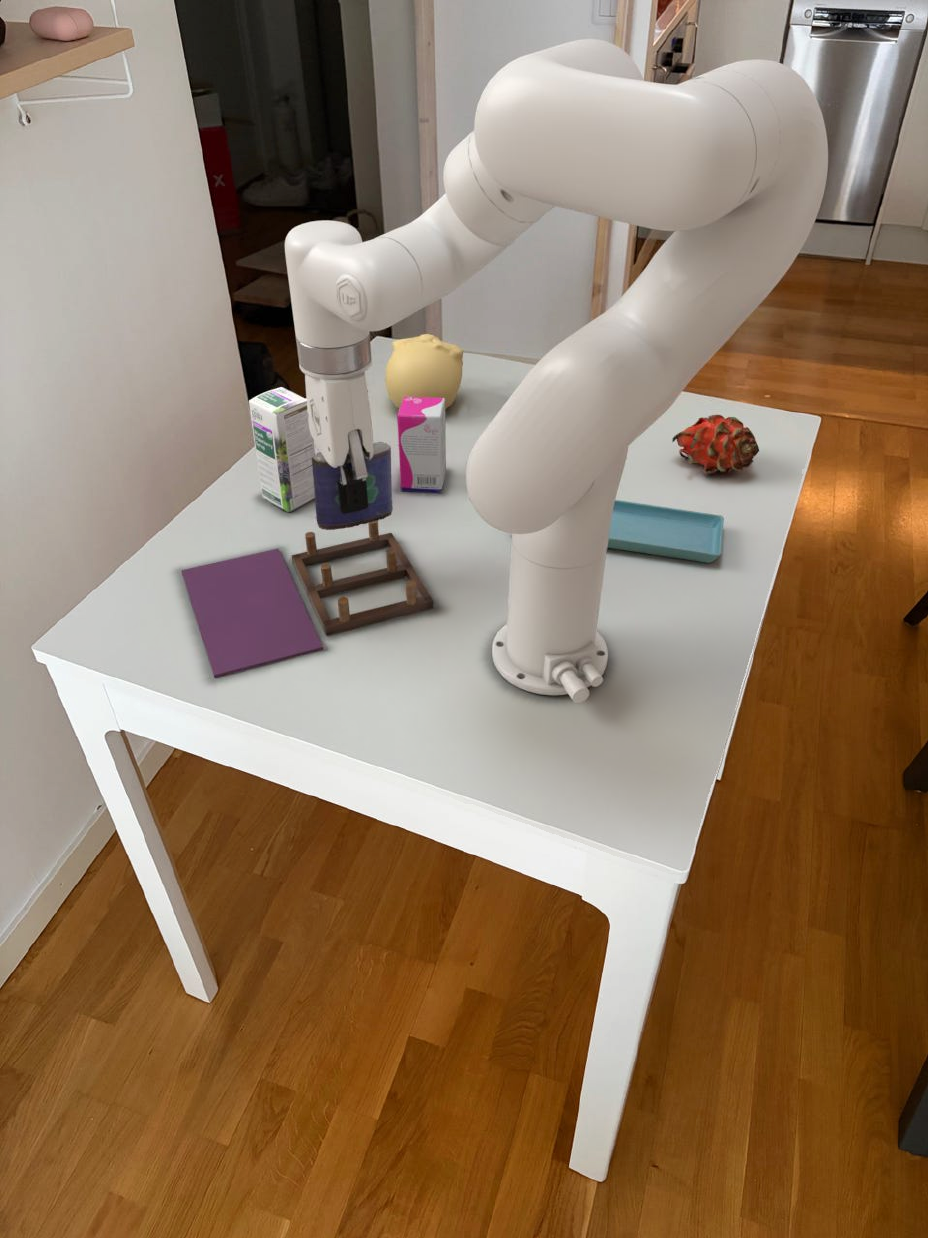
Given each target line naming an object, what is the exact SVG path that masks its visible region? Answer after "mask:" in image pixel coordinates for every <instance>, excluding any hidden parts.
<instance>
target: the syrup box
mask: <svg viewBox="0 0 928 1238" xmlns="http://www.w3.org/2000/svg"><path fill="white" fill-rule="evenodd" d="M248 406H249V414H250V420H251V421H250V422H251V427H252V434H253V440H254V448H255V455H256V461H257V468H258V477H259V483H260V491H261V497H262V499H264V500H267V501H268V502H270V503H271V504H273V505H275V506H276V507H279V508H280V509H282V510H283V511H285V512H287V513H290V512H292V511H294V510H296V509H298V508H299V507H301V506H304V505H306V504H307V503H309V502H311V501H312V500H315V491H314V479H313V467H312V460H311V459H312V457H313V456H314V455H315V454H316V448H315V441H314V440H313V438H312V436H311V433H310V430H309V423H308V411H307V398H304V397H302V396H301V395H299V394H297V393H295V392H294V391H291V390H289V389H287V388H285V387H283V386H280V387H277V388H273V389H270V390H267V391H265V392H262V393H260V394H258V395H256V396H254V397H252V398H251V399H249V400H248Z"/></svg>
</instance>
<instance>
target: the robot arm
mask: <svg viewBox="0 0 928 1238" xmlns="http://www.w3.org/2000/svg"><path fill="white" fill-rule="evenodd" d="M473 125H474V126H473V127H474V128H473V130H472V131H471V132H469V134H468V135H467V136H466V137H465V138H463V140H461V141H460V142H459V143H458V144H457V145H455V146H454V147H453V149H452V150H451V151H450V152H449V154H448V156H447V157H446V160H445V162H444V165H443V169H442V182H443V188H444V192H445V193H444V194H443V195H442V196H441V197H440V198H439V199H438V200H437V201H436V202H434V204H432V205H431V206H430V207H429V208H428V209H426V210H425V211H424V212H423V213H422V214H420V216H418V217H417V218H415V219H414V220H412V221H411V222H409V223H406V224H404V225H402V226H399V227H398V228H394V229H392V230H390V231H388V232H386V233H383V234H381V235H378V236H377V237H374V238H373V239H370V240H366V241H363V239H362V236H361V234H360V232H359V231H358V230H357V228H356V227H354V226H353V225H351V224H349V223H347V222H342V221H338V220H329V219H327V220H324V219H322V220H314V221H308V222H305V223H301V224H299V225H297V226H294V227H293V228H291V230H290V231H288V233H287V235H286V237H285V240H284V255H285V263H286V270H287V278H288V286H289V294H290V302H291V310H292V318H293V325H294V332H295V333H294V334H295V341H296V350H297V357H298V365H299V370H300V371H301V372H302V373H303V374H304V382H305V383H304V384H305V397H306V398H307V411H308V423H309V430H310V433H311V436H312V438H313V440H314V444H315V445H316V446H317V448H318V450H319V452H321V453H322V455H323V456H324V458H325V460H326V461H327V463H328V464H329V465H330V466H332V467H334V468H337V467H338V470H339V478H340V481H339V482H337V485H338V494H339V504H340V510H341V512H342V513H343V514H346V513H351V512H355V511H359V510H364V509H367V508H368V496H367V484H366V478H367V477H368V475H367V469H366V465H365V460H364V456H365V458H366V459H367V460H368V461H369V460H371V459H372V457H373V452H374V447H373V443H374V433H373V423H372V415H371V414H372V413H371V405H370V398H369V397H370V396H369V390H368V384H367V378H366V372H367V371H368V370H369V369H370V368H371V366H372V365H373V360H372V359H373V358H372V345H371V332H380V331H383V330H386V329H387V328H390V327H391V326H393V325H396V324H397V323H399V322H401V321H403V320H404V319H406V318H408V317H410V316H411V315H413V314H415V313H417V312H418V311H420V310H422V309H424V308H426V307H428V306H430V305H432V304H433V303H436V302H438V301H439V300H442V299H443V298H445V297H446V296H448V295H450V294H452V292H454V291H455V290H456V289H458V288H459V287H460V286H462V285H463V284H465V283H466V282H467V281H468V280H469V279H471V278H472V277H473V276H474V275H476V274H477V273H478V272H479V271H481V270H482V269H484V267H486V266H487V265H489V264H490V263H491V262H492V261H494V260H495V259H496V258H497V257H498V256H500V254H501V253H503V252H504V251H505V250H506V249H507V248H508V247H510V246H511V245H512V244H513V243H514V242H515V240H516V239H517V238H518V237H520V236H521V235H522V234H524V233H525V232H526V231H527V230H528V229H529V228H531V227H532V226H533V225H535V223H537V222H538V221H540V220H541V219H542V218H543V217H544V216H545V215H546V214H547V213H549V212H550V211H552V210H553V209H554V208H555V207H557V208H562V209H565V210H569V211H574V212H578V213H581V214H582V213H583V214H585V215H591V216H594V217H599V218H603V219H607V220H611V221H614V222H615V221H616V222H620V223H624V224H629V225H632V226H637V227H641V228H646V229H651V230H655V231H665V232H672V234H671V235H670V236H669V237H668V238H667V239H666V240H665V241H664V243H663V244H662V245H661V246H660V248H658V250H657V251H656V252H655V253H654V255H653V256H652V258H651V259H650V261H649V263H648V264H647V265H646V267H645V268H644V269H643V270H642V272H641V273H640V274H639V275H638V277H637V278H636V279H635V280H634V281H633V283H632V284H630V286H629V287H628V289H627V290H626V291H625V292H624V293H623V295H621V297H620V298H618V300H617V301H616V302H615V303H613V305H612V306H611V307H610V308H608V309H607V310H606V311H604V312H603V313H601V314H600V315H599V316H597V317H596V318H593V320H591V321H590V322H588V323H587V324H585V325H583V326H582V327H581V328H579V329H578V330H576V331H574V332H573V333H572V334H571V335H569V336H568V337H567V338H564V340H562V341H561V342H559V343H558V344H556V345H555V346H554V347H553V348H551V349H550V350H549V351H548V352H547V353H546V354H545V355H543V357H542V358H541V359H539V361H538V362H537V363H536V364H535V365H534V366H533V367H532V368H530V369H531V370H529V372H528V373H527V374H526V376H525V377H524V378H523V379H522V380H521V382H520V383H519V384H518V386H517V387H516V388H515V390H514V391H513V392H512V394H511V395H510V397H509V398H508V399H507V400H506V402H504V404H503V406H501V408H500V410H499V411H498V412H497V414H496V415H495V416H494V417H493V419H492V420H491V422H490V423H489V424H488V426H487V427H486V428H485V430H483V432H482V433H481V435H480V436H479V438H478V439H477V440H476V442H475V443H474V446H473V447H472V449H471V451H470V454H469V456H468V458H467V463H466V467H465V468H466V469H465V484H466V485H465V486H466V492H467V495H468V498H469V500H470V502H471V505H472V507H473V508H474V510H475V512H476V513H477V514H478V516H479V517H480V518H481V519H482V520H483V521H484V522H485V523H486V524H488V525H489V526H490V527H492V528H494V529H496V530H498V531H501V532H504V533H507V534H510V535H511V540H510V560H509V561H510V562H509V584H508V603H507V604H508V605H507V606H508V607H507V623H506V624H504V625H503V626H502V627H501V628H500V629H499V630H498V631H497V632H496V635H495V636H494V638H493V641H492V647H491V657H492V661H493V665H494V667H495V668H496V670H497V672H498V673H499V674H500V675H501V677H503V679H505V680H506V681H507V682H508V683H509V684H511V685H513V686H515V687H517V688H518V689H521V690H524V691H527V692H529V693H533V694H538V695H543V696H545V695H546V696H564V695H568V696H569V697H570V699H571V701H572V702H573V703H575V704H580V703H582V702H584V701H586V700H587V699H588V698H589V696H590V690H589V689H588V688H589V687H591V686H592V687H593V688H596V687H599V686H601V685H602V684H603V682H604V678H603V675H604V674H605V671H606V669H607V666H608V659H609V648H608V646H607V643H606V641H605V639H604V637H603V636H602V635H601V634H600V632H599V631H597V630H598V622H599V614H600V607H601V599H602V591H603V583H604V575H605V567H606V559H607V551H608V540H609V532H610V525H611V519H612V513H613V507H614V503H615V500H616V498H617V495H618V490H619V487H620V484H621V480H622V477H623V473H624V469H625V466H626V463H627V457H628V453H629V446H631V444H632V443H634V442H635V441H636V440H637V439H638V438H639V437H640V436H642V434H644V433H645V432H646V431H647V430H648V429H649V428H650V427H651V426H652V425H653V424H654V423H656V422H657V421H658V420H659V419H660V418H662V417H663V415H664V414H665V413H666V412H667V411H668V410H669V409H670V407H672V405H673V404H674V403H675V401H677V399H678V398H679V396H680V395H681V393H682V392H683V391H684V390H685V389H686V387H687V386H688V385H689V383H690V382H691V381H692V379H694V377H696V376H697V374H698V373H699V372H700V370H701V369H703V367H704V366H705V365H706V364H707V363H708V362H709V361H710V360H711V359H712V358H713V357H714V356H715V354H716V353H718V351H720V350H721V348H722V347H723V346H724V345H725V344H726V343H727V342H728V341H729V340H730V339H731V337H732V336H733V335H734V334H735V332H736V331H737V330H738V329H739V328H740V327H741V326H742V325H743V324H744V322H745V321H746V320H747V319H748V318H749V317H750V316H751V315H752V314H753V313H754V311H755V310H756V309H757V308H758V307H759V306H760V305H761V304H762V302H764V301H765V299H767V297H768V296H769V295H770V293H771V292H773V290H774V288H775V287H776V286H777V285H778V284H779V282H780V281H781V280H782V279H783V277H784V276H785V275H786V273H787V271H788V270H789V269H790V268H791V266H792V264H793V263H794V261H795V260H796V258H797V257H798V255H799V253H800V252H801V250H802V249H803V246H804V244H805V243H806V241H807V239H808V237H809V235H810V233H811V231H812V229H813V227H814V225H815V222H816V220H817V216H818V213H819V211H820V208H821V205H822V202H823V198H824V193H825V189H826V186H827V179H828V169H829V146H828V145H829V144H828V136H827V129H826V124H825V120H824V115H823V112H822V109H821V106H820V105H819V102H818V100H817V98H816V95H815V93H814V92H813V90H812V88H811V87H810V86H809V84H808V82H807V81H806V80H805V79H804V78H803V77H802V76H801V75H800V74H799V73H798V72H797V71H796V70H794V69H793V68H792V67H790V66H788V65H785V64H784V63H780V62H778V61H775V60H770V59H757V58H755V59H746V60H745V59H744V60H739V61H738V60H737V61H735V62H732V63H728V64H725V65H722V66H720V67H717V68H715V69H712V70H709V71H707V72H705V73H702V74H700V75H698V76H695V77H691V78H690V79H687V80H685V81H683V82H681V83H680V82H679V83H678V84H668V83H659V82H654V81H653V82H652V81H646V80H644V78H643V75H642V73H641V70H640V68H639V67H638V64H637V63H636V62H635V61H634V59H633V58H632V57H631V56H630V55H629V54H628V53H627V52H626V51H625V50H623V49H622V48H621V47H619V46H618V45H616V44H614V43H612V42H609V41H607V40H602V39H597V38H582V39H576V40H571V41H568V42H564V43H561V44H558V45H554V46H551V47H548V48H545V49H542V50H538V51H535V52H531V53H529V54H525V55H521V56H519V57H517V58H516V59H514V60H511V61H509V62H508V63H507V64H505V65H504V66H502V67H501V69H499V70H498V71H497V72H496V73H495V74H494V75H493V77H491V79H490V80H489V81H488V83H487V85H486V86H485V88H484V89H483V91H482V93H481V95H480V98H479V101H478V102H477V105H476V110H475V115H474V123H473ZM306 398H305V399H306ZM347 454H350V455H347ZM348 464H352V468H349V469H347V471H346V469H345V465H348Z"/></svg>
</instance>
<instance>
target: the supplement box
mask: <svg viewBox="0 0 928 1238" xmlns="http://www.w3.org/2000/svg"><path fill="white" fill-rule="evenodd" d="M396 417H397V419H396V421H397V439H398V442H397V443H398V459H399V475H400V476H399V479H400V490H401V491H402V492H418V493H435V494H436V493H437V494H442V492H443V488H444V485H445V479H446V476H447V447H446V446H447V443H446V439H447V437H446V409H445V398H427V397H404V398H403V401H402V404H401V407H400V409H399V410H398V412H397V416H396Z"/></svg>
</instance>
